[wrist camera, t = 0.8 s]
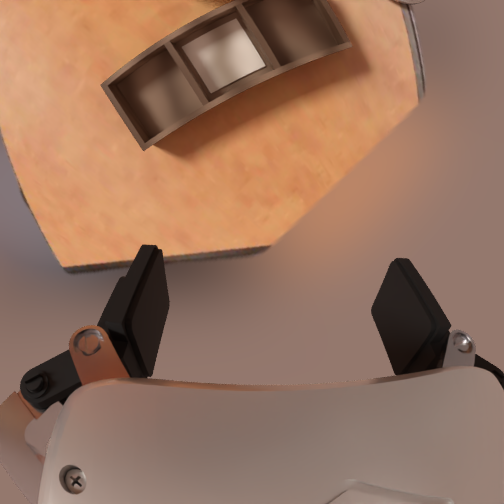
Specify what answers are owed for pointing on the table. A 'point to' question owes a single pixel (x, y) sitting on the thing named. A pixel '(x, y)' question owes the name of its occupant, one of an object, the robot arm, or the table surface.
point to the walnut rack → (219, 61)
